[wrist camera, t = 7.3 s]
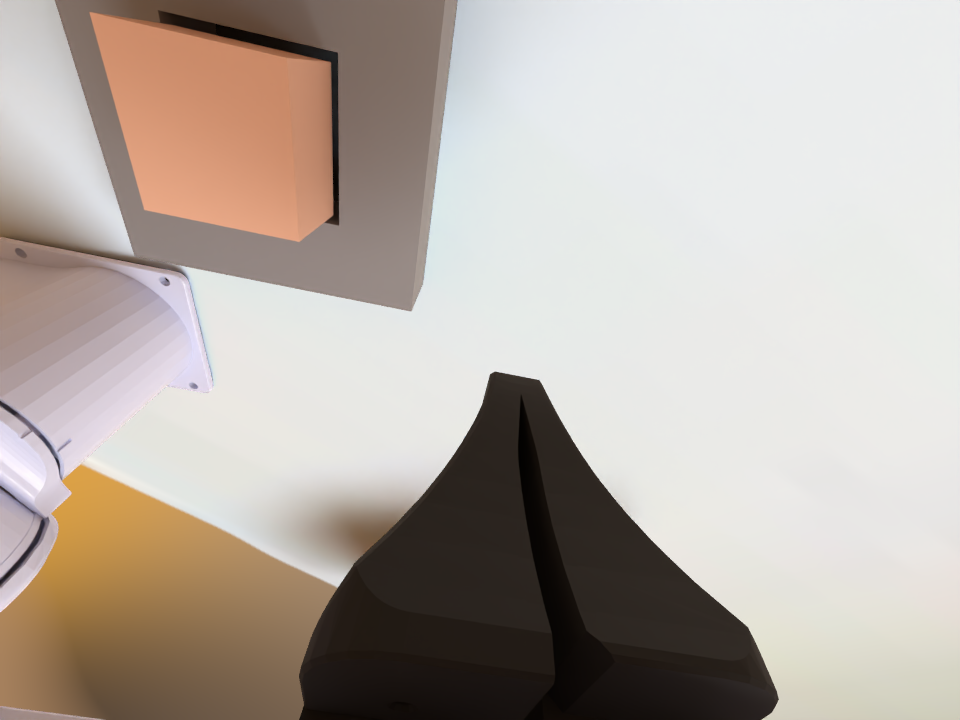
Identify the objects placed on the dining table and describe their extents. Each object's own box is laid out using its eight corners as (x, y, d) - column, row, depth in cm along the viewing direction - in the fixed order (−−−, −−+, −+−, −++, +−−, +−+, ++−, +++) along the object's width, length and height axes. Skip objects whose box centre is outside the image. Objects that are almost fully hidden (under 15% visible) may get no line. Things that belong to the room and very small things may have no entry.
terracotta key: (204, 188, 16) (144, 209, 13) (174, 25, 13) (89, 11, 10) (333, 215, 16) (299, 241, 13) (331, 62, 13) (287, 57, 11)
